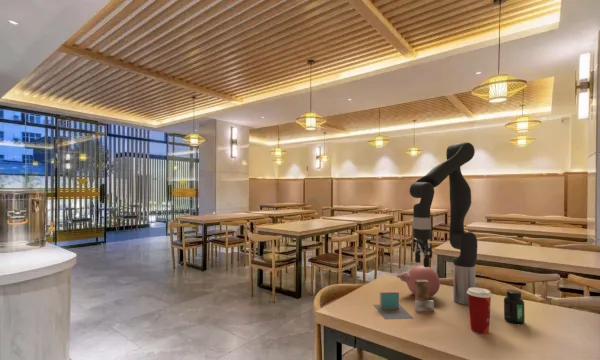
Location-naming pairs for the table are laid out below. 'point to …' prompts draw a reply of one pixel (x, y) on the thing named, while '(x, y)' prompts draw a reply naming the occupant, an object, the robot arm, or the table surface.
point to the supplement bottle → (514, 308)
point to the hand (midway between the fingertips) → (421, 264)
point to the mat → (394, 313)
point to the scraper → (423, 296)
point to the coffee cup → (479, 309)
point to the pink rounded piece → (421, 278)
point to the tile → (389, 299)
